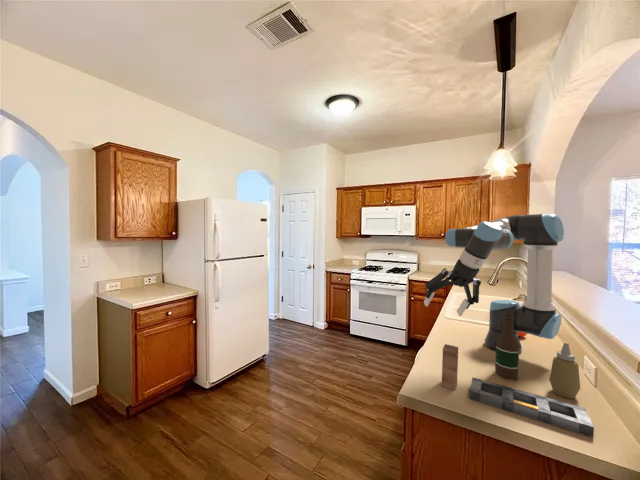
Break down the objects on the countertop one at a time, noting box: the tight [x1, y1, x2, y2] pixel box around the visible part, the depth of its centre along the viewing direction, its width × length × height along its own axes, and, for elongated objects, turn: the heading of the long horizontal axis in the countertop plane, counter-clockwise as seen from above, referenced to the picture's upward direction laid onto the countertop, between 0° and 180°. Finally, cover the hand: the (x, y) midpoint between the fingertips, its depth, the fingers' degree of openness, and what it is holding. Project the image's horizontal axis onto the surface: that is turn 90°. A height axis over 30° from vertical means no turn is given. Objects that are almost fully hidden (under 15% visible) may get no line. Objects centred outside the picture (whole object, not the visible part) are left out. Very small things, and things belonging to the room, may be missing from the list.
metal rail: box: [469, 377, 595, 438], centre depth 87 cm, size 30×10×3 cm, turn 56°
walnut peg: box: [441, 343, 459, 391], centre depth 99 cm, size 4×4×14 cm
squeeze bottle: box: [548, 342, 581, 400], centre depth 95 cm, size 8×8×18 cm
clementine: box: [518, 331, 528, 338], centre depth 148 cm, size 8×7×7 cm
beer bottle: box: [494, 314, 520, 381], centre depth 107 cm, size 8×8×24 cm
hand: (442, 309), depth 106 cm, fingers open, 13 cm apart
